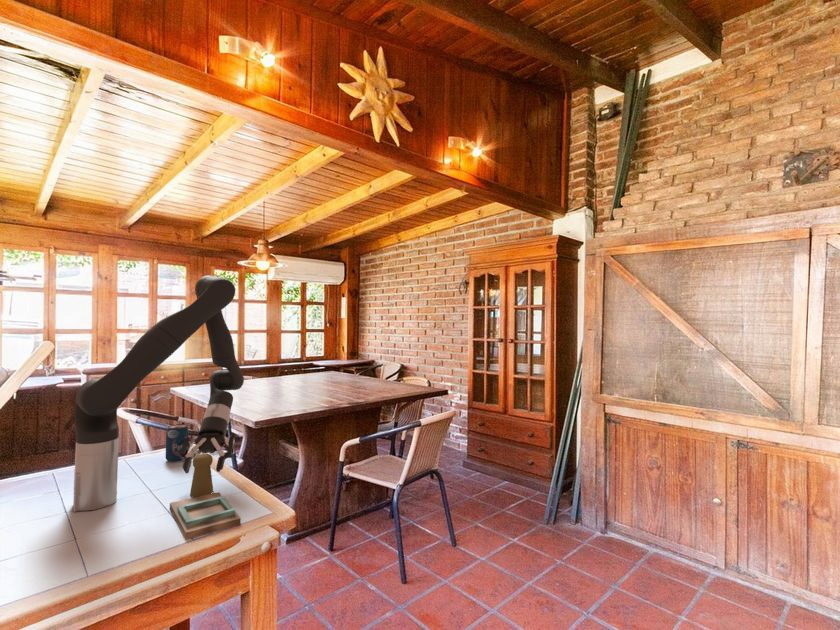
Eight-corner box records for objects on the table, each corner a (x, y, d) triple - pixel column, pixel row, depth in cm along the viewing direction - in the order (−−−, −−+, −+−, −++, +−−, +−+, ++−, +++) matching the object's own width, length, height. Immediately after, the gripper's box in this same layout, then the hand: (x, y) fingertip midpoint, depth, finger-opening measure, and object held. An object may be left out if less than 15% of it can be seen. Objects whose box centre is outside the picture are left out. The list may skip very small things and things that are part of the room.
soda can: (175, 464, 146) (176, 429, 147) (160, 461, 149) (161, 427, 149) (192, 458, 153) (193, 424, 153) (178, 455, 155) (179, 422, 156)
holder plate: (185, 539, 97) (186, 527, 97) (169, 508, 112) (170, 498, 112) (240, 524, 104) (240, 513, 104) (218, 497, 120) (218, 487, 120)
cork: (206, 497, 119) (207, 458, 119) (185, 497, 119) (186, 457, 120) (217, 489, 125) (218, 451, 125) (196, 488, 125) (198, 451, 126)
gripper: (188, 415, 130) (171, 466, 118) (237, 414, 132) (226, 464, 121) (193, 428, 135) (178, 478, 124) (241, 427, 137) (230, 476, 126)
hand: (202, 471), depth 122 cm, fingers open, 8 cm apart
